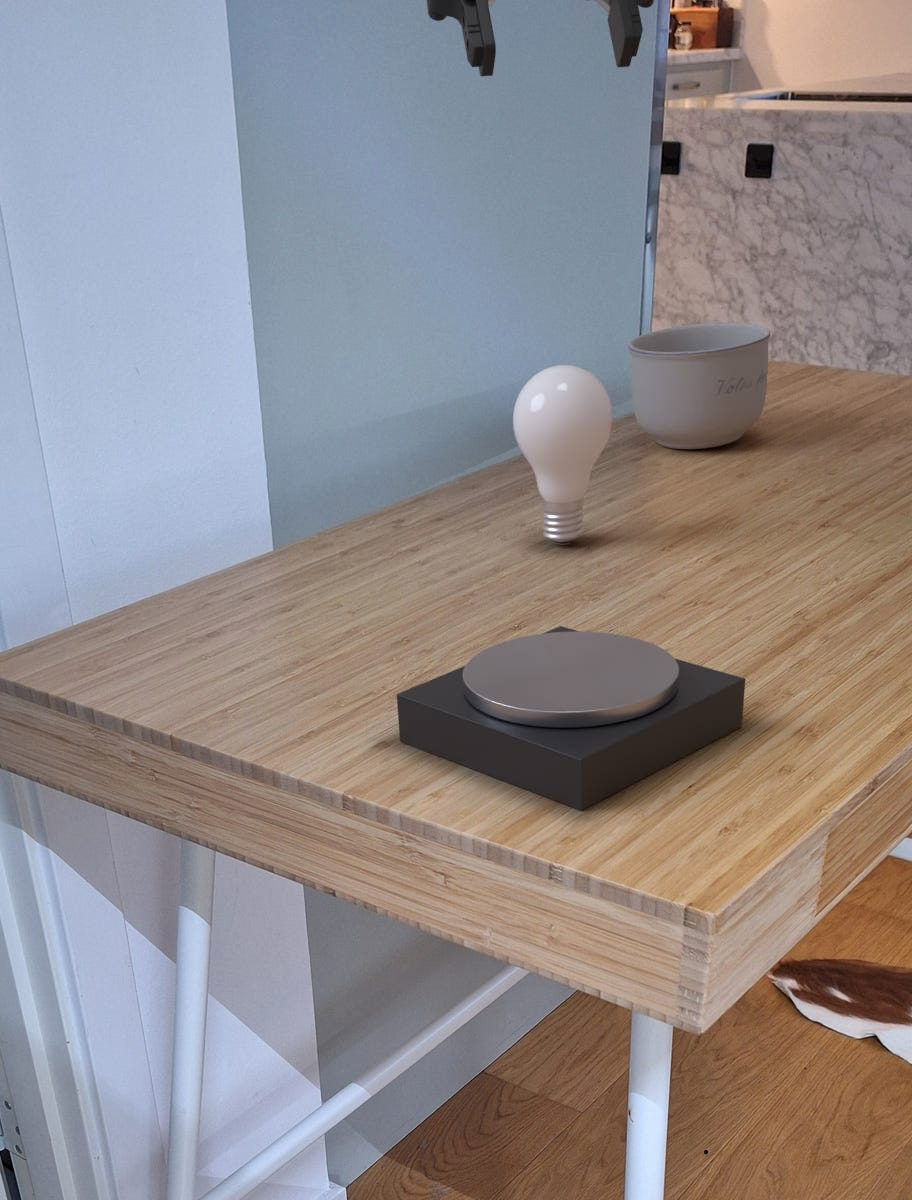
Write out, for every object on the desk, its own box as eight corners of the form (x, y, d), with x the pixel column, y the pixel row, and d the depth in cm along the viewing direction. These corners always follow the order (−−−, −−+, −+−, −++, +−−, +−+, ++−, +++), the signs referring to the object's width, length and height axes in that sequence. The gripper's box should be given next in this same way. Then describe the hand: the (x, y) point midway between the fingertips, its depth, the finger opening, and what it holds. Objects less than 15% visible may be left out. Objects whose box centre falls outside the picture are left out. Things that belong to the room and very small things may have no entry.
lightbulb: (504, 556, 96) (499, 376, 90) (529, 527, 101) (526, 355, 95) (598, 560, 95) (600, 377, 88) (620, 531, 100) (623, 355, 93)
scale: (560, 670, 80) (560, 625, 78) (742, 726, 72) (746, 678, 71) (399, 741, 73) (395, 693, 72) (581, 811, 66) (581, 759, 64)
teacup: (735, 462, 112) (743, 349, 108) (605, 452, 117) (606, 343, 112) (792, 421, 122) (801, 315, 117) (670, 412, 127) (674, 310, 122)
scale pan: (561, 631, 77) (561, 616, 77) (722, 678, 71) (723, 662, 70) (419, 691, 72) (418, 675, 71) (580, 747, 65) (580, 730, 65)
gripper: (405, -222, 87) (447, 14, 84) (639, -233, 88) (688, -1, 85) (398, -102, 94) (437, 118, 91) (614, -115, 95) (658, 102, 93)
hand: (558, 60), depth 88 cm, fingers open, 8 cm apart
